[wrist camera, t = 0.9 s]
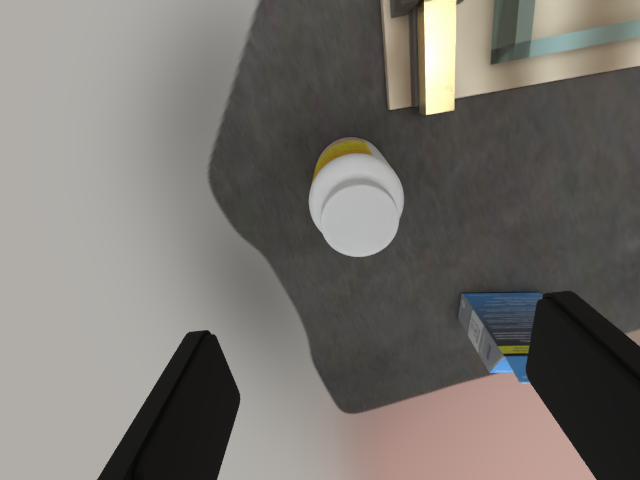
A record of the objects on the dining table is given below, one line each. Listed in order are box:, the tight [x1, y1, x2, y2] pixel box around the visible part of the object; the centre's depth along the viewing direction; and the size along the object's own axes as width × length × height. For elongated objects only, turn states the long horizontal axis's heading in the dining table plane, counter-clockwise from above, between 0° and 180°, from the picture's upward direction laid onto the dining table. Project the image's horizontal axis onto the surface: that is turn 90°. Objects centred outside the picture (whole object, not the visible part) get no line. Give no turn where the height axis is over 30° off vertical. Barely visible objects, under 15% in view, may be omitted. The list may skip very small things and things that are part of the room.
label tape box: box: [458, 292, 543, 383], centre depth 30 cm, size 9×4×12 cm, turn 93°
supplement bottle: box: [309, 137, 404, 257], centre depth 24 cm, size 7×7×13 cm
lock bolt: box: [417, 0, 456, 115], centre depth 21 cm, size 2×9×2 cm, turn 10°
